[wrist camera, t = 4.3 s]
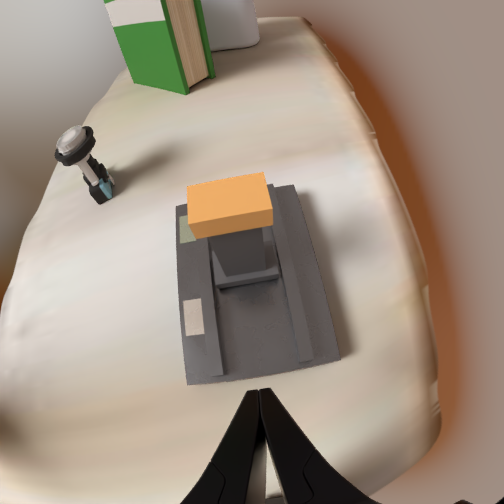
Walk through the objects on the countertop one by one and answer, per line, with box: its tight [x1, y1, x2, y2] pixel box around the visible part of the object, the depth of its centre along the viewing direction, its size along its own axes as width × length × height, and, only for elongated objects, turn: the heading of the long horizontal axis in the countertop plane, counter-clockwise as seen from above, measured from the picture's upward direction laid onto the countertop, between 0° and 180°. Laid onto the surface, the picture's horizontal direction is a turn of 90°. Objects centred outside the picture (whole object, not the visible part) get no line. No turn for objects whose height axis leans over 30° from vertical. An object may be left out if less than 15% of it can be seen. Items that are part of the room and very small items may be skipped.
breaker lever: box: [187, 172, 279, 289], centre depth 19 cm, size 3×5×10 cm, turn 99°
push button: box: [55, 126, 115, 204], centre depth 28 cm, size 7×5×10 cm
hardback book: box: [104, 0, 216, 95], centre depth 34 cm, size 18×7×24 cm, turn 52°
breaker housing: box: [176, 184, 341, 385], centre depth 23 cm, size 17×12×3 cm
